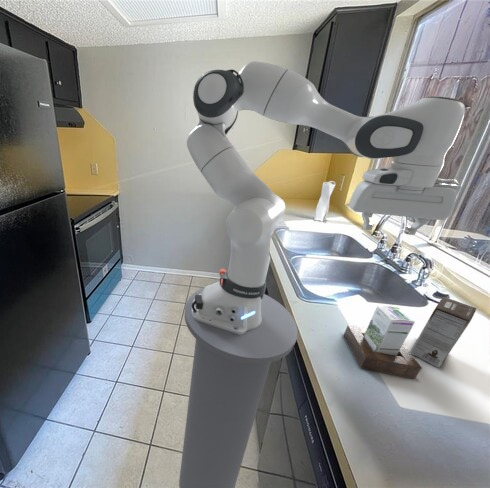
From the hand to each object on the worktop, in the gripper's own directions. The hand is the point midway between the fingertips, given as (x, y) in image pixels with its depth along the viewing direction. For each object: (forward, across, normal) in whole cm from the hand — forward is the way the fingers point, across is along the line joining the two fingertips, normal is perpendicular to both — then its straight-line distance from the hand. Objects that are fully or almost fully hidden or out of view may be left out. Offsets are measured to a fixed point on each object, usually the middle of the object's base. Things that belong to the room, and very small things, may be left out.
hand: (387, 231), depth 66 cm
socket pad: (+33, -5, +8) cm, 34 cm away
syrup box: (+33, -5, +8) cm, 35 cm away
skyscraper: (+33, -25, -122) cm, 129 cm away
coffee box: (+33, -20, +3) cm, 39 cm away
